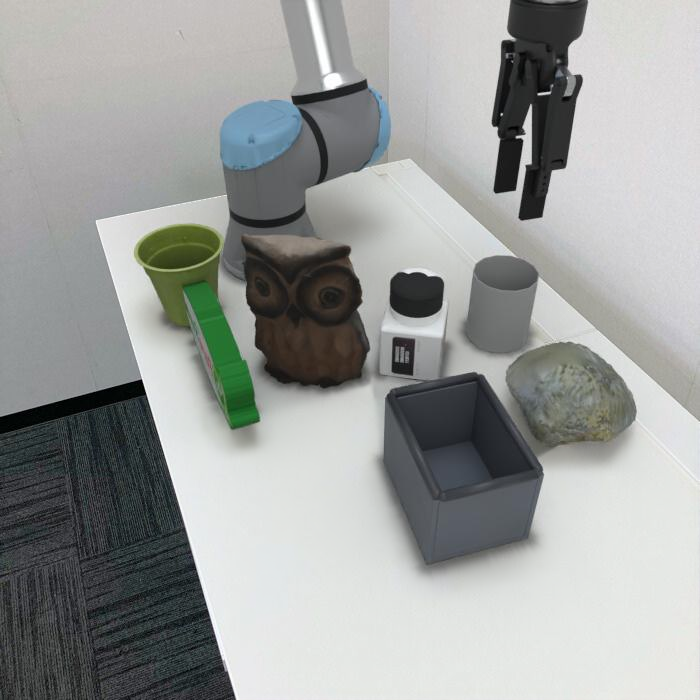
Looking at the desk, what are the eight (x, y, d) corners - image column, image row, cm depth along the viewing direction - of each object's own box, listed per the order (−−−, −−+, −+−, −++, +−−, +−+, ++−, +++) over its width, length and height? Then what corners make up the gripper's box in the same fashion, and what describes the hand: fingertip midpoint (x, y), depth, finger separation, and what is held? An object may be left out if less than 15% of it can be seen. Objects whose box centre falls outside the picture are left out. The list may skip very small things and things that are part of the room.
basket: (428, 569, 69) (530, 542, 71) (435, 500, 62) (548, 472, 64) (381, 457, 80) (471, 437, 82) (383, 388, 73) (481, 368, 75)
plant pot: (141, 302, 104) (125, 235, 96) (219, 281, 107) (209, 215, 100) (161, 348, 95) (144, 279, 88) (244, 324, 99) (235, 256, 92)
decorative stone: (557, 387, 94) (622, 345, 88) (592, 485, 83) (667, 445, 78) (488, 345, 86) (554, 296, 81) (517, 446, 76) (594, 399, 71)
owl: (373, 380, 90) (375, 245, 77) (283, 413, 86) (268, 276, 73) (329, 326, 99) (324, 197, 86) (245, 354, 94) (226, 222, 81)
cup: (540, 338, 96) (553, 277, 90) (495, 361, 93) (505, 299, 86) (497, 308, 102) (506, 248, 95) (453, 328, 98) (460, 268, 92)
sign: (263, 443, 82) (254, 380, 76) (237, 451, 81) (225, 388, 75) (209, 317, 101) (198, 257, 94) (187, 322, 100) (174, 262, 93)
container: (438, 383, 90) (446, 300, 81) (378, 375, 91) (380, 293, 82) (444, 345, 95) (452, 264, 87) (388, 338, 97) (390, 257, 88)
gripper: (475, -26, 76) (457, 173, 91) (563, 23, 62) (524, 249, 77) (539, -31, 77) (510, 165, 92) (639, 15, 63) (586, 239, 78)
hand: (517, 203), depth 84 cm, fingers open, 6 cm apart
